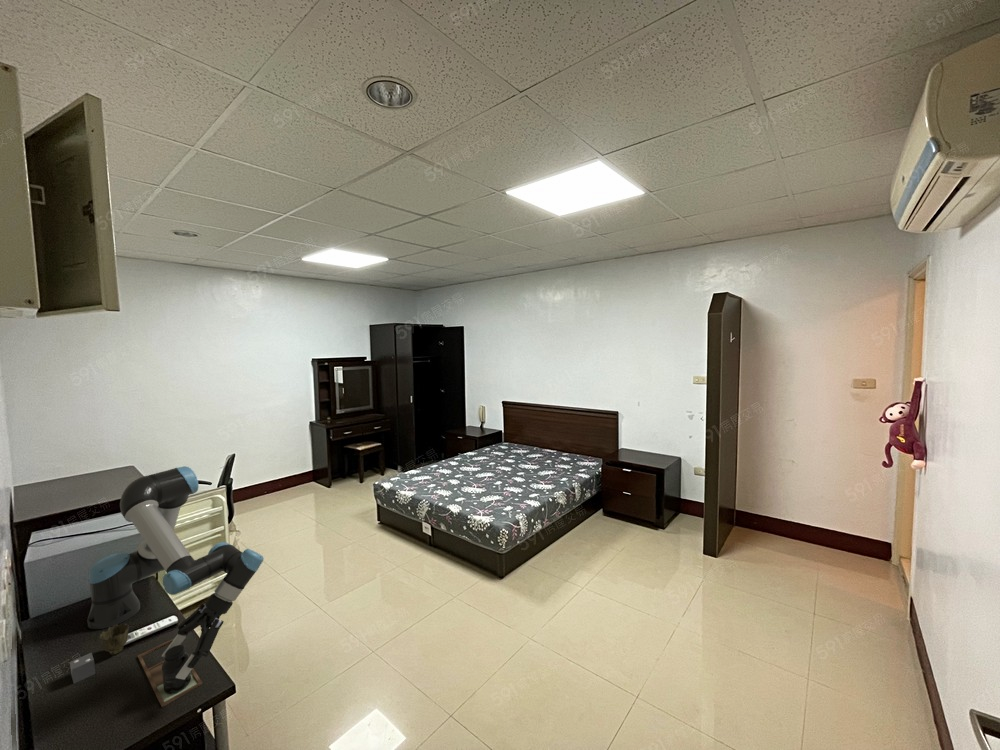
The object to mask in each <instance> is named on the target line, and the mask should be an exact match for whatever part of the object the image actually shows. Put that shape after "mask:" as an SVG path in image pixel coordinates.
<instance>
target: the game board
mask: <svg viewBox="0 0 1000 750" xmlns="http://www.w3.org/2000/svg"><path fill="white" fill-rule="evenodd" d="M173 640H174V638H172V639H169V640H168V641H165V642H163V643H161V644H159V645H157V646H154V647H153V648H151V649H149V650H147V651H145V652H143V653H140V654H138V655H137V659H138V661H139V663H140V665H141V667H142V669H143V671H144V674H145V675H146V678H147V679H148V682H149V684H150V686H151V689H152V690H153V692H154V694H155V696H156V698H157V700H158V702H159V705H160V706H161V708H163V707H165V706H167V705H168V704H169V705H170V703H173V702H174V701H176V700H177V699H179V698H181V697H182V696H184V695H186V694H188V693H190V692H192V691H193V690H195V689H197V688H198V686H199V687H200V686H202V685H203V681H202V680H201V678H200V677H199V675H198V674H197V672H196V670H195V669H194V667H193V668H192V670H191V681H190V683H189V684H188V685H187V686H186V687H185V688H184V689H183V690H181V691H179V692H177V693H173V694H167V693H165V692H164V687H163V676H162V664H163V662H164V661H165V659H164V660H162V661H160V662H159V663H156V664H155V665H152V666H150V667H147V664H146V663H145V661H144V658H143V657H144V656H146V655H148V654H150V653H152V651H153V652H154V650H155V649H157V650H158V648H159V649H161V648H163V647H165V646H167V645H170V644H171V642H172V641H173ZM164 645H165V646H164ZM162 646H163V647H162ZM160 647H161V648H160ZM155 651H156V650H155Z"/></svg>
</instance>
